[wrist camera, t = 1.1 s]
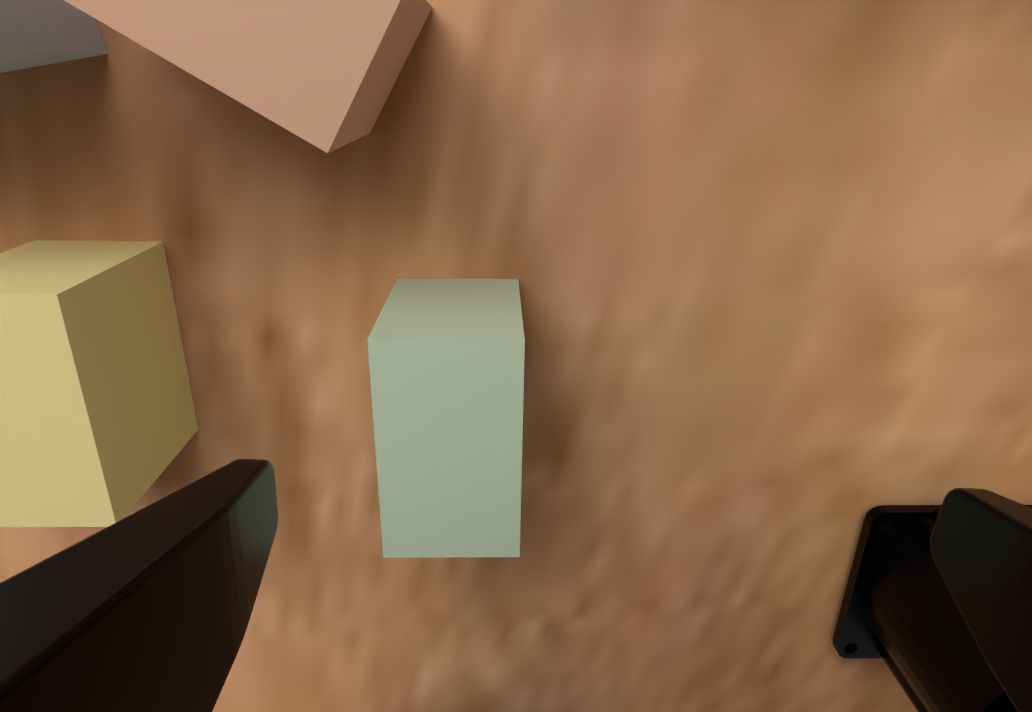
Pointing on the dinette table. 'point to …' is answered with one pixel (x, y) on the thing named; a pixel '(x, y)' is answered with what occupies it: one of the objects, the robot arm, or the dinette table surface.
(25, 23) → the slate brick
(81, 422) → the mustard brick
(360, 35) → the terracotta brick
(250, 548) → the robot arm
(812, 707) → the dinette table surface
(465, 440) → the green brick
